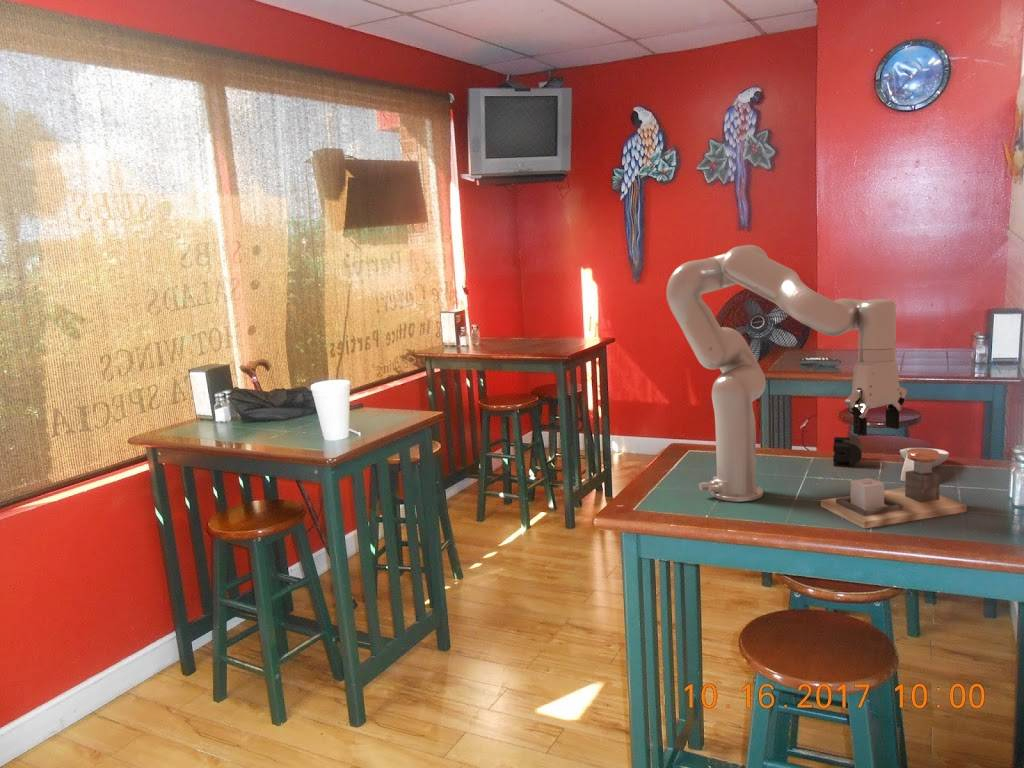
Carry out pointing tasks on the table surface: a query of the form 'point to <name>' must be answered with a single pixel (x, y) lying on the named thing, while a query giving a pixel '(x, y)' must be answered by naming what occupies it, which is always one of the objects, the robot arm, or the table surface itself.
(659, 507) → the table surface
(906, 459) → the spoon rest
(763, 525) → the table surface
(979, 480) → the table surface
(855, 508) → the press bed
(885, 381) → the robot arm
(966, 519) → the table surface
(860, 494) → the block
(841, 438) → the end cap
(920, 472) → the disc
